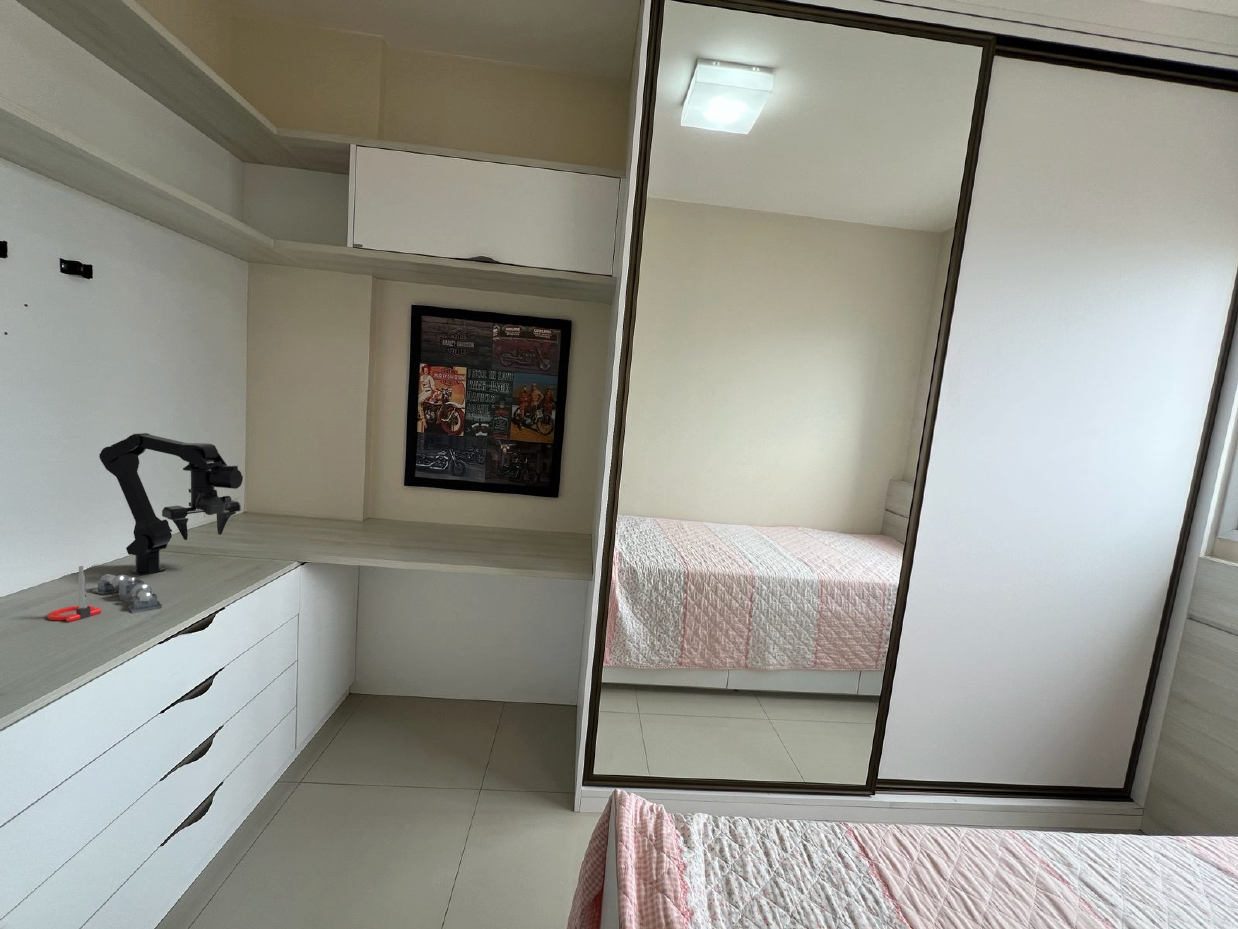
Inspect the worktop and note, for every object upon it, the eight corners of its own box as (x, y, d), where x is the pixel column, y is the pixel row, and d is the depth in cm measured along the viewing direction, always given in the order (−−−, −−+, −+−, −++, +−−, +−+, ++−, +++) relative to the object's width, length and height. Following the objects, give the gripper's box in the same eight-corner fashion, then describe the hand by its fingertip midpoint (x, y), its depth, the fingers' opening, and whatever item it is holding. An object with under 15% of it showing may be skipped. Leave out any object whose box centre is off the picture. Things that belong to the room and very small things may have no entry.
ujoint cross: (117, 597, 154) (116, 576, 153) (135, 593, 157) (135, 573, 157) (128, 603, 151) (128, 582, 150) (146, 599, 154) (146, 578, 154)
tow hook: (38, 619, 138) (65, 624, 136) (35, 567, 137) (62, 571, 135) (79, 608, 146) (105, 612, 144) (77, 558, 145) (103, 562, 143)
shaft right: (162, 607, 149) (161, 588, 149) (132, 613, 145) (131, 593, 144) (155, 599, 154) (155, 581, 153) (126, 604, 149) (126, 585, 149)
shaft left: (92, 592, 156) (91, 574, 155) (116, 585, 161) (116, 568, 161) (110, 596, 154) (110, 578, 153) (135, 590, 159) (134, 572, 159)
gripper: (180, 493, 159) (181, 548, 161) (250, 486, 175) (250, 536, 177) (160, 487, 164) (161, 540, 166) (230, 481, 181) (230, 530, 182)
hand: (203, 537), depth 173 cm, fingers open, 9 cm apart
